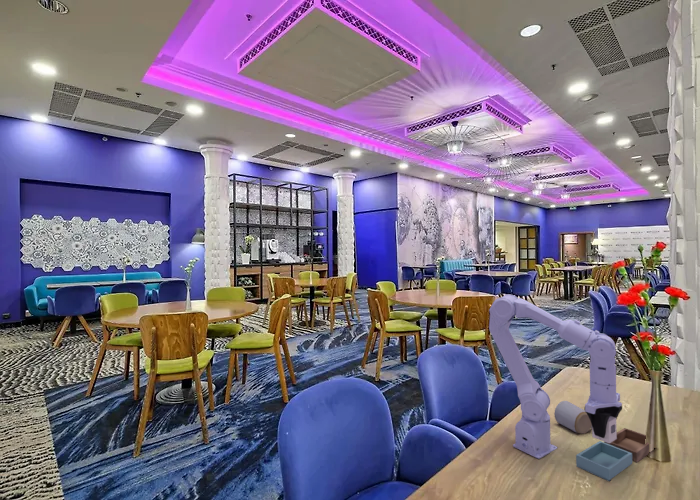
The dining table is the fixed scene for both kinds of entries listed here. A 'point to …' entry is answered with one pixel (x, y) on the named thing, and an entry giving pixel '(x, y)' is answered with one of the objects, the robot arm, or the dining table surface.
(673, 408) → the dining table surface
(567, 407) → the ceramic mug
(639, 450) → the walnut tray
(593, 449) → the teal tray
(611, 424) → the letter block
